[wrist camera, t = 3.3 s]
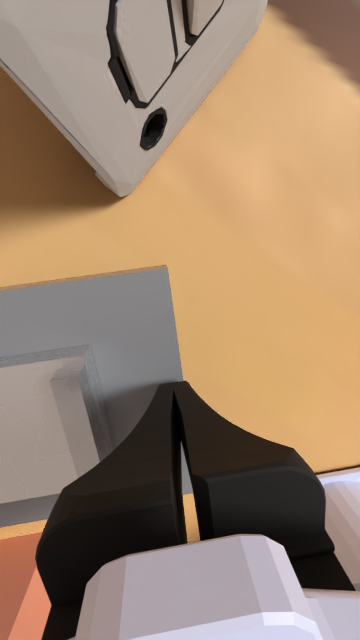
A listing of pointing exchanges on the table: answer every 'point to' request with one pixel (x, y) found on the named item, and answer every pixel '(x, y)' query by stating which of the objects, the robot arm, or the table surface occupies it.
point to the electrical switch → (122, 70)
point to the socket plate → (98, 346)
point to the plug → (21, 590)
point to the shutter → (50, 422)
